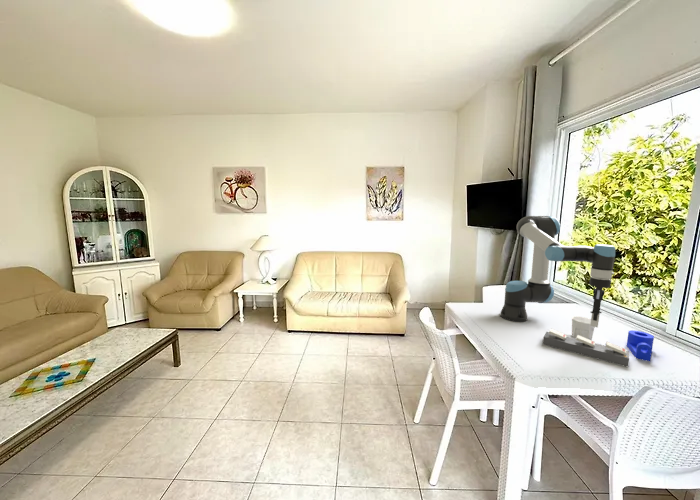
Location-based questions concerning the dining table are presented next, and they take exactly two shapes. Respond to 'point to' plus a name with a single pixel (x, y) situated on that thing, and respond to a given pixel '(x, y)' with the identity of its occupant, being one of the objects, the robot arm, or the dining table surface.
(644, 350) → the bracket
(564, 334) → the rocker
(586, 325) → the cup
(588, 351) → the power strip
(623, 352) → the rocker
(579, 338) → the rocker
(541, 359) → the dining table surface
